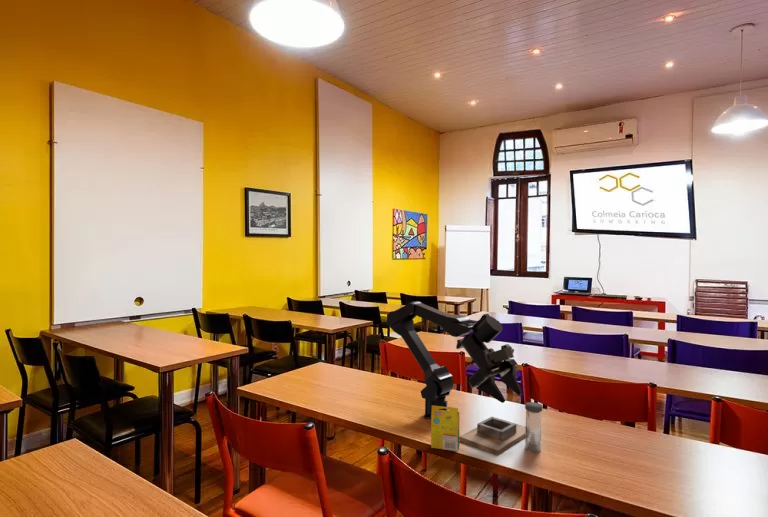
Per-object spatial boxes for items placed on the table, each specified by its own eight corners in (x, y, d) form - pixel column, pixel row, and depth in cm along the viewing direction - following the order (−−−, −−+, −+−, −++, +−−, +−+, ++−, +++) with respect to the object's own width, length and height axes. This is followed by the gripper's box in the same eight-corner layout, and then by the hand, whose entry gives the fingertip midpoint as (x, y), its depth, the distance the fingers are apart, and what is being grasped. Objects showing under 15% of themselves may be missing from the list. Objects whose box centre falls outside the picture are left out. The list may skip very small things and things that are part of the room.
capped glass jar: (524, 451, 118) (525, 407, 118) (524, 444, 123) (524, 401, 122) (542, 453, 117) (543, 408, 117) (540, 446, 121) (541, 403, 121)
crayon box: (459, 447, 120) (460, 404, 120) (457, 452, 118) (458, 408, 117) (432, 443, 123) (433, 401, 122) (430, 448, 120) (431, 405, 120)
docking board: (459, 440, 125) (459, 427, 124) (495, 421, 139) (496, 409, 139) (497, 454, 116) (497, 441, 116) (532, 432, 130) (532, 420, 130)
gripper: (478, 340, 121) (515, 389, 113) (512, 331, 134) (546, 375, 127) (454, 363, 126) (487, 412, 119) (488, 353, 140) (520, 396, 132)
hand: (512, 398), depth 124 cm, fingers open, 9 cm apart
